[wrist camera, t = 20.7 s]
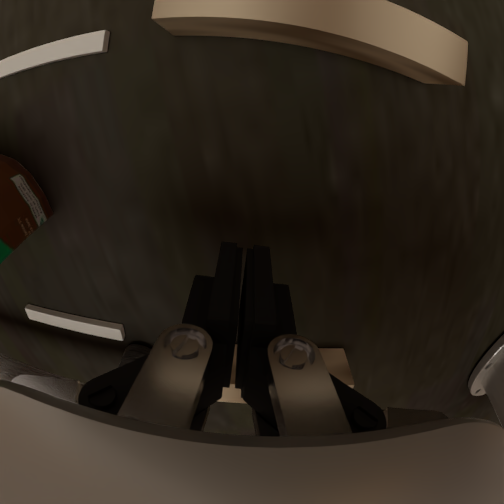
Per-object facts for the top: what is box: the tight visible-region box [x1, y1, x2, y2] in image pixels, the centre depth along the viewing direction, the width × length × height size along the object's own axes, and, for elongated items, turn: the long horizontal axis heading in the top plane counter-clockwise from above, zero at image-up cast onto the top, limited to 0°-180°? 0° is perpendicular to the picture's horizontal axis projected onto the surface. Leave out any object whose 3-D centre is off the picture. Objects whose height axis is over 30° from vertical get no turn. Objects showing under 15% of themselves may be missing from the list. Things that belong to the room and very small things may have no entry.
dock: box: [152, 0, 468, 403], centre depth 12 cm, size 11×20×3 cm, turn 173°
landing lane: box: [0, 30, 125, 341], centre depth 12 cm, size 8×17×1 cm, turn 173°
